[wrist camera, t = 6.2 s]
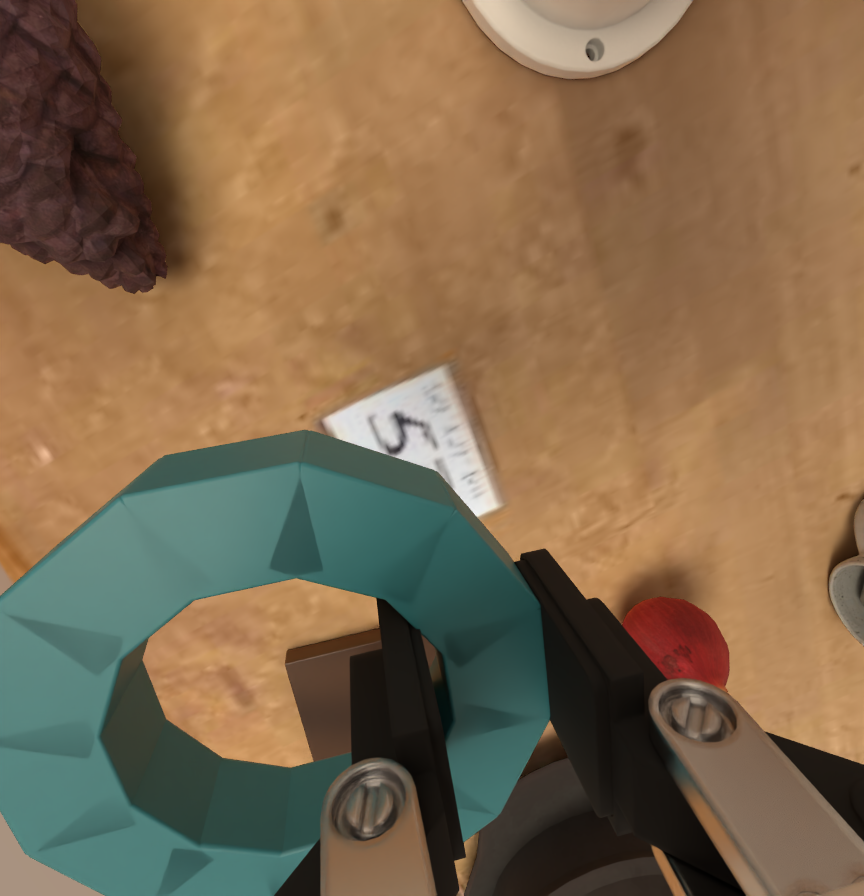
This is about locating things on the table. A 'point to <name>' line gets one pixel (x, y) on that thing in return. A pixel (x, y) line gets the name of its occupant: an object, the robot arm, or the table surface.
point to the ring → (223, 571)
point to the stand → (330, 688)
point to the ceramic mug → (851, 584)
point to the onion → (680, 640)
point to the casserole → (560, 845)
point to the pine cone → (68, 154)
